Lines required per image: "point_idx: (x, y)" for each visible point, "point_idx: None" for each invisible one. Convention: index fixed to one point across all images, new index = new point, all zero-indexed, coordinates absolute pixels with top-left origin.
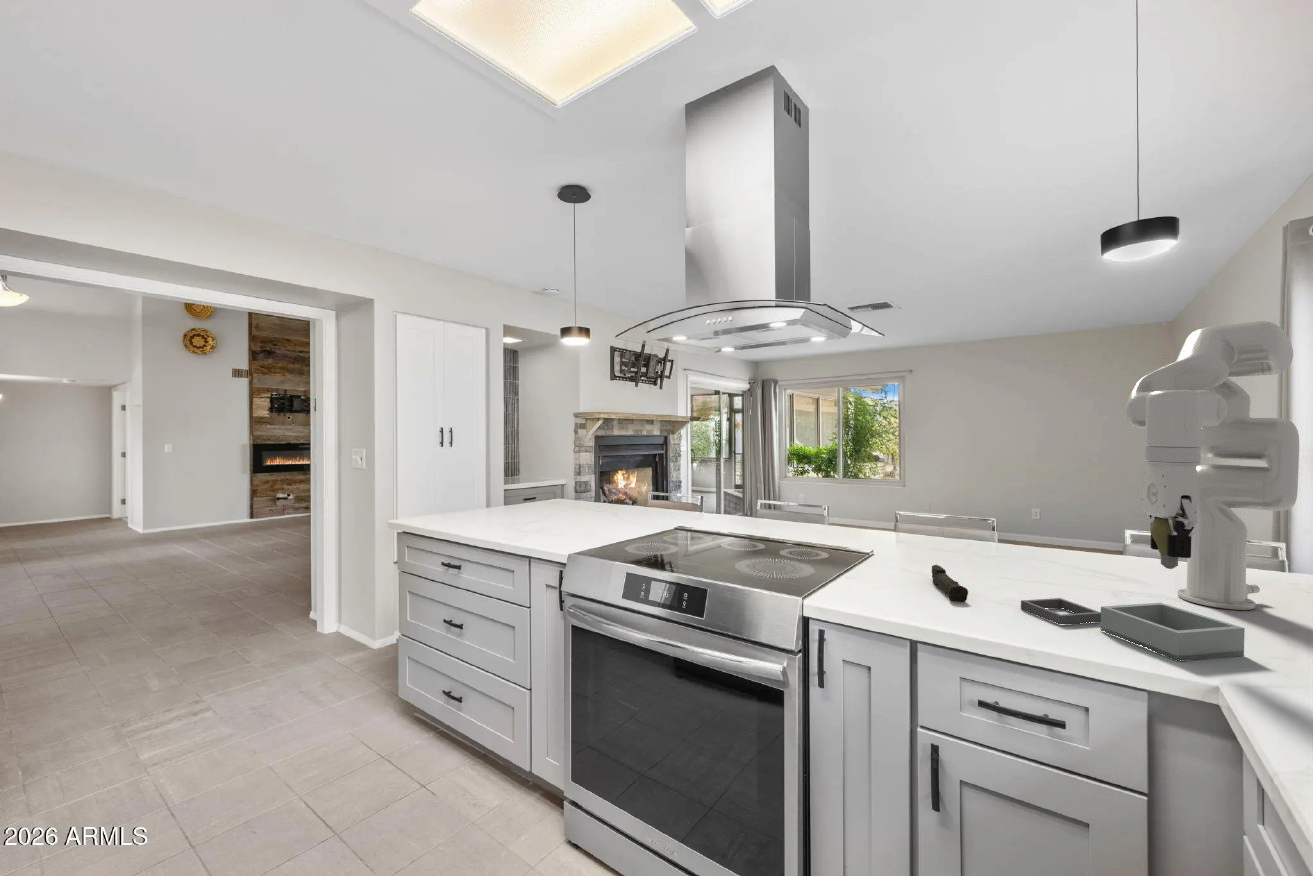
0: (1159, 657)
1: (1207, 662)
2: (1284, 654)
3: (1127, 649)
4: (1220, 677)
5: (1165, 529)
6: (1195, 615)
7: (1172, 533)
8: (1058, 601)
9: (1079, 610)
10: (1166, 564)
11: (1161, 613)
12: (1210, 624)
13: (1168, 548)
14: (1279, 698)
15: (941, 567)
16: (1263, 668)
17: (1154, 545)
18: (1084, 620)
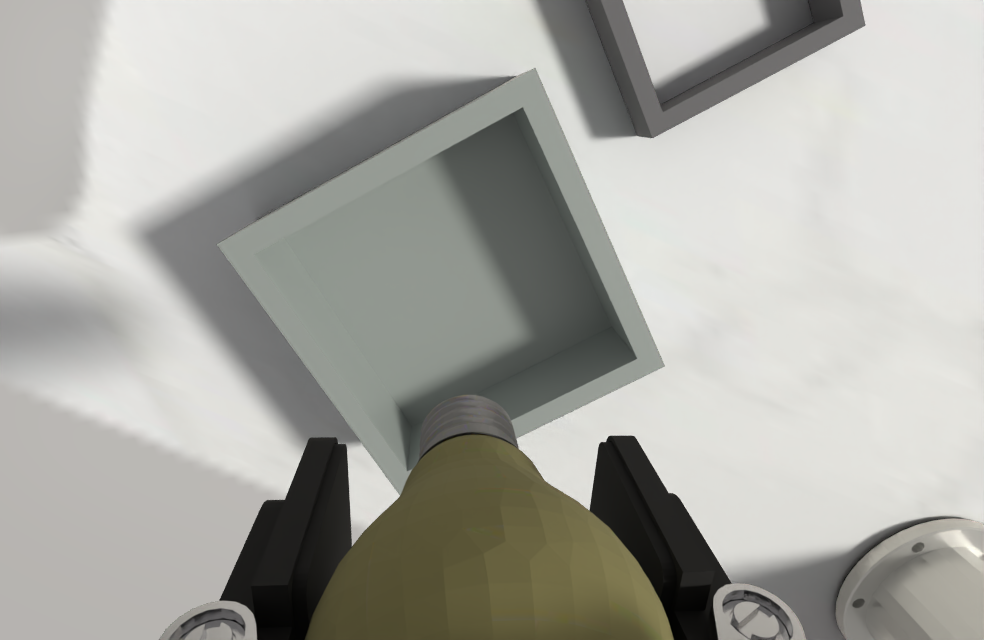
0: (278, 177)
1: None
2: None
3: (323, 93)
4: (160, 286)
5: (328, 631)
6: (517, 415)
7: (215, 628)
8: (833, 6)
9: (730, 72)
10: (434, 413)
11: (624, 343)
12: None
13: (297, 475)
14: (54, 362)
15: None
16: (312, 437)
17: (606, 464)
18: (607, 43)
